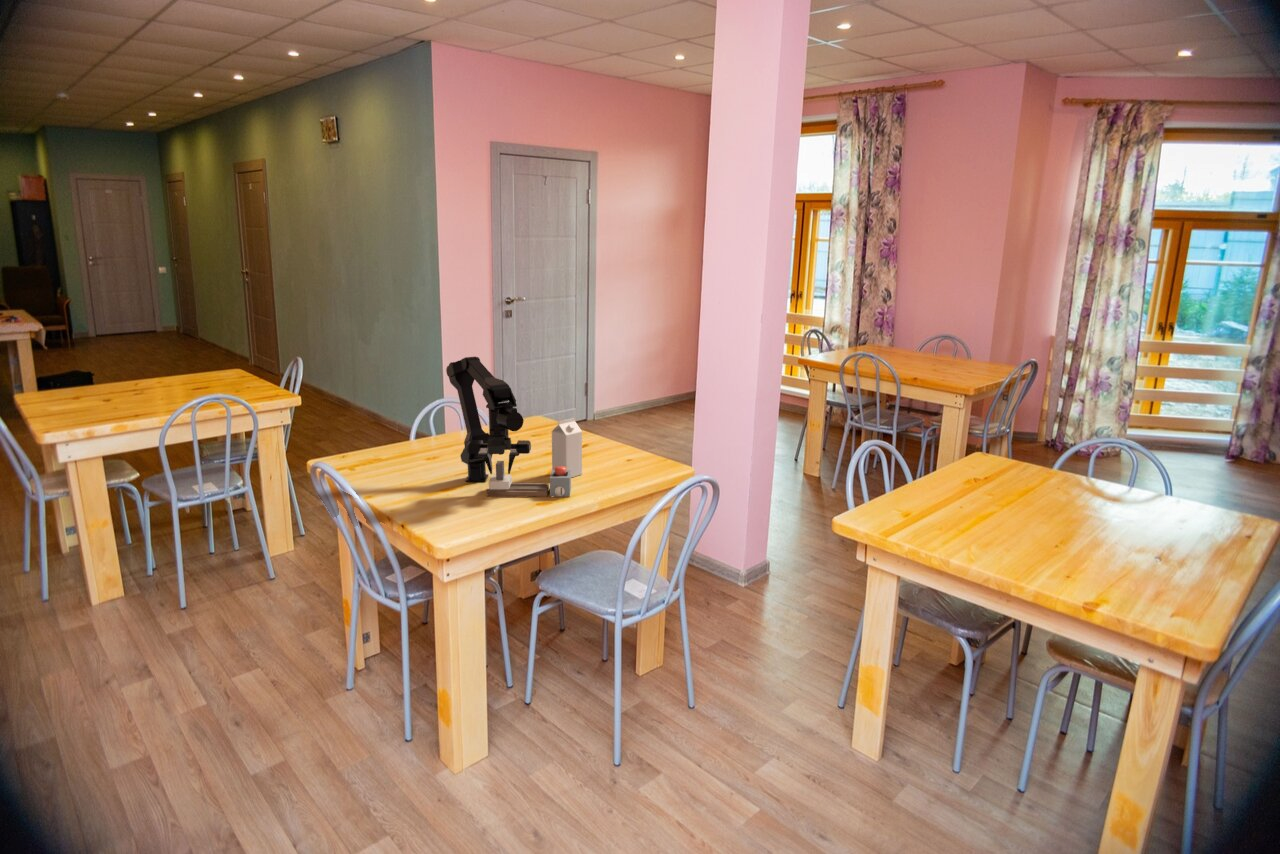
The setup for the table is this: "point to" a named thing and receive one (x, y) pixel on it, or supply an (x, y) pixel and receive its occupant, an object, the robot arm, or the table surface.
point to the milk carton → (567, 446)
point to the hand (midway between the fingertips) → (500, 473)
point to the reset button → (560, 470)
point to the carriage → (500, 478)
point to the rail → (520, 490)
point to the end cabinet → (560, 484)
